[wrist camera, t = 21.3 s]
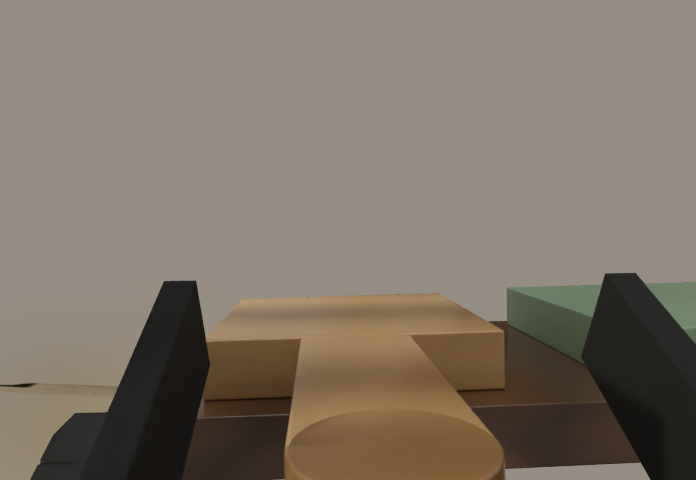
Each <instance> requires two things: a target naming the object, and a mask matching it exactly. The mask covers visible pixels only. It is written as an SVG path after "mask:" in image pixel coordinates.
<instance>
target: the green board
mask: <svg viewBox="0 0 696 480" xmlns="http://www.w3.org/2000/svg"><path fill="white" fill-rule="evenodd" d="M645 285H646V286H647V287H648V288H649V289H650V291H651V292H652V293H653V294H654V295H655V297H656V298H657V299H658V300H659V301H660V302H661V304H662V305H663V306H664V307H665V308H666V310H667V311H668V312H669V313H670V314H671V315H672V317H673V318H674V319H675V320H676V321H677V323H678V324H679V325H680V326H681V327H682V328H683V330H684V331H685V332H686V333H687V334H688V336H689V337H690V338H691V339H692V340H693V342H694V343H695V344H696V282H685V283H652V284H645ZM601 286H602V285H581V286H546V287H512V288H507V324H508V325H510V326H512V327H514V328H516V329H518V330H520V331H522V332H524V333H526V334H527V335H529V336H531V337H533V338H535V339H537V340H539V341H541V342H543V343H545V344H546V345H548V346H550V347H552V348H554V349H556V350H558V351H560V352H562V353H564V354H566V355H567V356H569V357H571V358H573V359H575V360H577V361H579V362H581V363H583V364H585V363H584V361H583V360H582V358H581V355H582V352H583V348H584V345H585V341H586V338H587V334H588V331H589V328H590V324H591V321H592V317H593V314H594V310H595V307H596V304H597V300H598V297H599V293H600V290H601Z"/></svg>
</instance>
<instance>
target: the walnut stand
mask: <svg viewBox="0 0 696 480" xmlns="http://www.w3.org/2000/svg"><path fill="white" fill-rule="evenodd" d="M489 323H491V324H493V325H495V326H496V327H498V328H500V329H502V330H503V331H504V348H505V388H504V389H494V390H469V391H457V392H458V394H459V395H460V396H461V397H462V398H463V400H464V401H465V402H466V403H467V404H468V406H469V407H470V408H471V409H472V410H473V412H474V413H475V414H476V415H477V416H478V418H479V419H480V420H481V421H482V422H483V424H484V425H485V426H486V427H487V428H488V430H489V431H490V432H491V433H492V434H493V436H494V437H495V438H496V439H497V440H498V441H499V443H500V444H501V446H502V448H503V451H504V454H505V469H510V468H511V469H512V468H533V467H554V466H574V465H575V466H576V465H596V464H616V463H617V464H618V463H638V462H639V463H640V460H639V458H638V457H637V455H636V453H635V451H634V450H633V448H632V446H631V444H630V443H629V441H628V439H627V437H626V435H625V434H624V432H623V430H622V428H621V427H620V425H619V423H618V421H617V420H616V418H615V416H614V414H613V413H612V411H611V409H610V407H609V405H608V404H607V402H606V400H605V398H604V397H603V395H602V393H601V391H600V390H599V388H598V386H597V384H596V382H595V381H594V379H593V377H592V375H591V374H590V372H589V370H588V368H587V367H586V365H585V364H583V363H581V362H579V361H577V360H575V359H573V358H571V357H569V356H567V355H566V354H564V353H562V352H560V351H558V350H556V349H554V348H552V347H550V346H548V345H546V344H545V343H543V342H541V341H539V340H537V339H535V338H533V337H531V336H529V335H527V334H526V333H524V332H522V331H520V330H518V329H516V328H514V327H512V326H510V325H508V324H507V321H491V322H489ZM291 401H292V397H289V398H263V399H238V400H212V401H205V400H204V399H203V396H202V399H201V403H200V407H199V411H198V415H197V419H196V423H195V427H194V431H193V435H192V439H191V443H190V447H189V451H188V455H187V459H186V463H185V467H184V471H183V475H182V479H181V480H276V479H284V450H285V443H286V436H287V429H288V422H289V415H290V408H291Z"/></svg>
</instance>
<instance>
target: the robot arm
mask: <svg viewBox="0 0 696 480" xmlns="http://www.w3.org/2000/svg"><path fill="white" fill-rule="evenodd" d="M581 358H582V360H583V361H584V363H585V365H586V367H587V368H588V370H589V372H590V374H591V375H592V377H593V379H594V381H595V382H596V384H597V386H598V388H599V390H600V391H601V393H602V395H603V397H604V398H605V400H606V402H607V404H608V405H609V407H610V409H611V411H612V413H613V414H614V416H615V418H616V420H617V421H618V423H619V425H620V427H621V428H622V430H623V432H624V434H625V435H626V437H627V439H628V441H629V443H630V444H631V446H632V448H633V450H634V451H635V453H636V455H637V457H638V458H639V460H640V462H641V463H642V465H643V467H644V469H645V471H646V472H647V474H648V476H649V478H650V480H696V344H695V343H694V342H693V340H692V339H691V338H690V337H689V336H688V334H687V333H686V332H685V331H684V330H683V328H682V327H681V326H680V325H679V324H678V323H677V321H676V320H675V319H674V318H673V317H672V315H671V314H670V313H669V312H668V311H667V310H666V308H665V307H664V306H663V305H662V304H661V302H660V301H659V300H658V299H657V298H656V297H655V295H654V294H653V293H652V292H651V291H650V289H649V288H648V287H647V286H646V285H645V284H644V282H643V281H642V280H641V279H640V278H639V276H638V275H637V274H636V273H612V274H611V273H610V274H605V276H604V280H603V283H602V286H601V290H600V293H599V297H598V300H597V304H596V307H595V310H594V314H593V317H592V321H591V324H590V328H589V331H588V334H587V338H586V341H585V345H584V348H583V352H582V355H581ZM209 368H210V361H209V355H208V349H207V343H206V337H205V331H204V325H203V319H202V313H201V307H200V302H199V296H198V290H197V284H196V281H164V283H163V285H162V287H161V290H160V292H159V294H158V297H157V299H156V301H155V304H154V306H153V308H152V310H151V313H150V315H149V317H148V320H147V322H146V324H145V327H144V329H143V331H142V334H141V336H140V338H139V341H138V343H137V345H136V347H135V350H134V352H133V354H132V357H131V359H130V361H129V364H128V366H127V368H126V371H125V373H124V375H123V377H122V380H121V382H120V384H119V387H118V389H117V391H116V394H115V396H114V398H113V401H112V403H111V405H110V407H109V410H108V412H105V413H75V414H74V415H73V416H72V417H71V418H70V419H69V420H68V421H67V422H66V423H65V424H64V425H63V426H62V427H61V428H60V429H59V430H58V431H57V432H56V433H55V434H54V435H53V437H52V439H51V440H50V442H49V444H48V446H47V449H46V450H45V452H44V454H43V456H42V458H41V463H40V465H38V466H37V468H36V470H35V472H34V473H33V476H32V477H31V479H30V480H181V479H182V475H183V471H184V467H185V463H186V459H187V455H188V451H189V447H190V443H191V439H192V435H193V431H194V427H195V423H196V419H197V415H198V411H199V407H200V403H201V399H202V396H203V392H204V388H205V384H206V380H207V376H208V372H209Z"/></svg>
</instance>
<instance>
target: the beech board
mask: <svg viewBox="0 0 696 480" xmlns="http://www.w3.org/2000/svg"><path fill="white" fill-rule="evenodd" d="M206 343H207V349H208V355H209V361H210V368H209V372H208V376H207V380H206V384H205V388H204V392H203V399H204V400H205V401H212V400H238V399H263V398H289V397H292V401H291V408H290V415H289V422H288V429H287V436H286V443H285V450H284V479H285V480H505V454H504V451H503V448H502V446H501V444H500V443H499V441H498V440H497V439H496V438H495V437H494V436H493V434H492V433H491V432H490V431H489V430H488V428H487V427H486V426H485V425H484V424H483V422H482V421H481V420H480V419H479V418H478V416H477V415H476V414H475V413H474V412H473V410H472V409H471V408H470V407H469V406H468V404H467V403H466V402H465V401H464V400H463V398H462V397H461V396H460V395H459V394H458V392H457V391H469V390H494V389H504V388H505V348H504V331H503V330H502V329H500V328H498V327H496V326H495V325H493V324H491V323H489V322H488V321H486V320H484V319H482V318H481V317H479V316H477V315H475V314H473V313H472V312H470V311H468V310H467V309H465V308H463V307H461V306H460V305H458V304H456V303H454V302H453V301H451V300H449V299H447V298H446V297H444V296H442V295H440V294H438V293H430V294H396V295H362V296H329V297H328V296H327V297H294V298H293V297H292V298H258V299H243V300H242V301H241V302H240V303H239V304H238V305H237V306H236V307H235V308H234V309H233V310H232V311H231V312H230V313H229V314H228V315H227V316H226V317H225V318H224V319H223V320H222V321H221V322H220V323H219V324H218V325H217V326H216V327H215V328H214V329H213V330H212V331H211V332H210V333H209V334H208V335H207V336H206Z"/></svg>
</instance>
